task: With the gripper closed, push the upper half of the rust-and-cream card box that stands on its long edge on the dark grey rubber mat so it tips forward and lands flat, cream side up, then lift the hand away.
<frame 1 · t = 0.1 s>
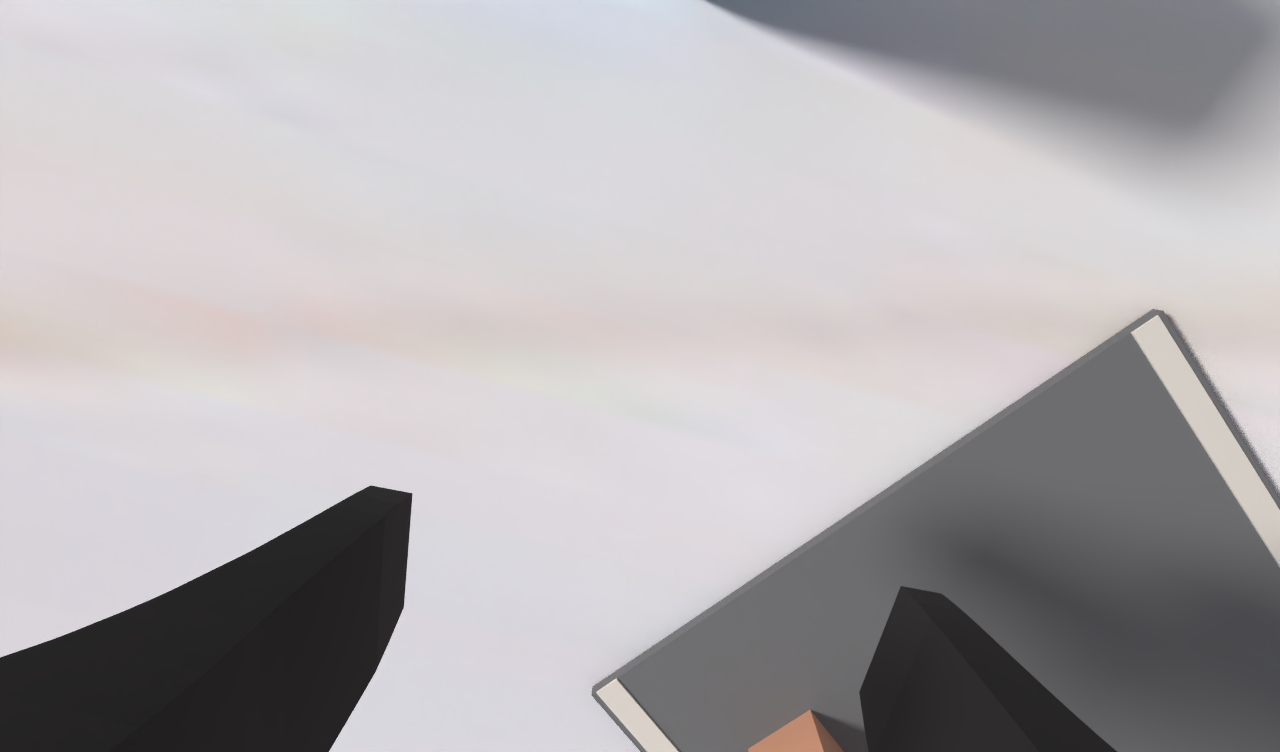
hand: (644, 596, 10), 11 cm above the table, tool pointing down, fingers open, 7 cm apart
mat: (1012, 721, 22), on the table
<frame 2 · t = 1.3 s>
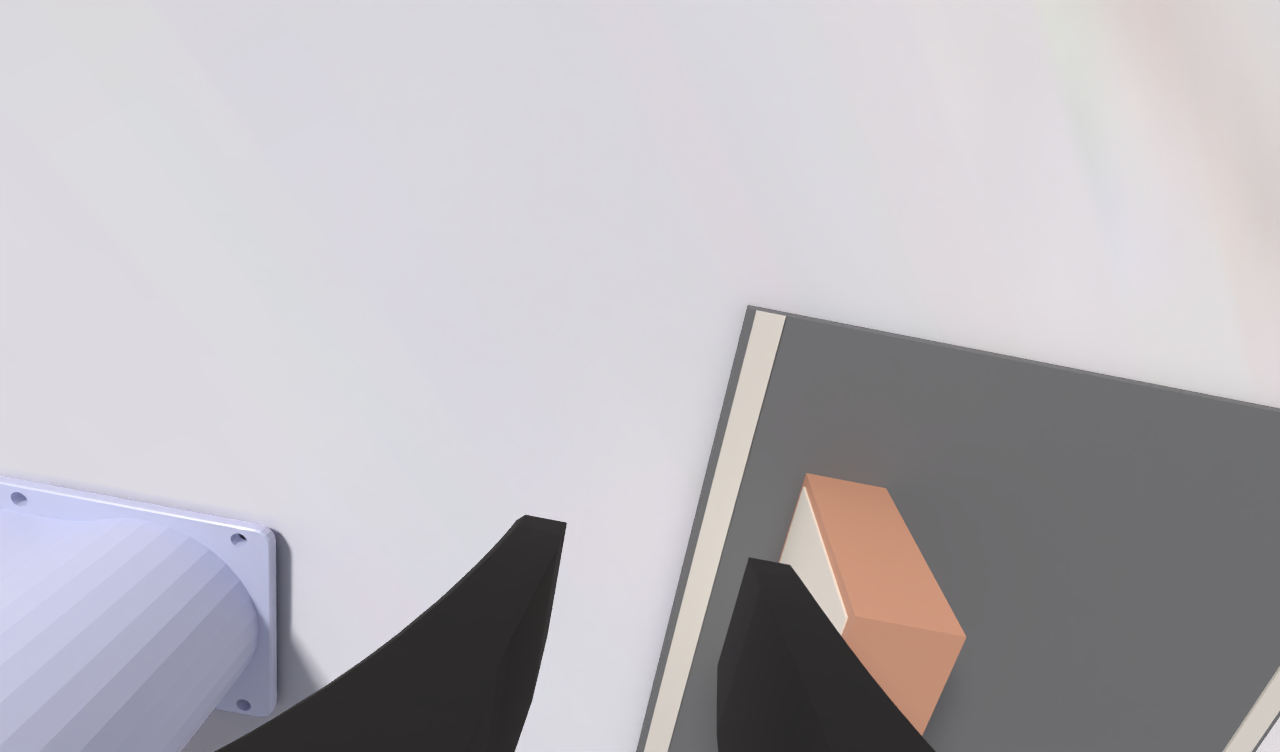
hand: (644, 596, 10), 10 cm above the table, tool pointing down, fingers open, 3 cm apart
card box: (805, 603, 22), resting on mat
mat: (984, 629, 23), on the table
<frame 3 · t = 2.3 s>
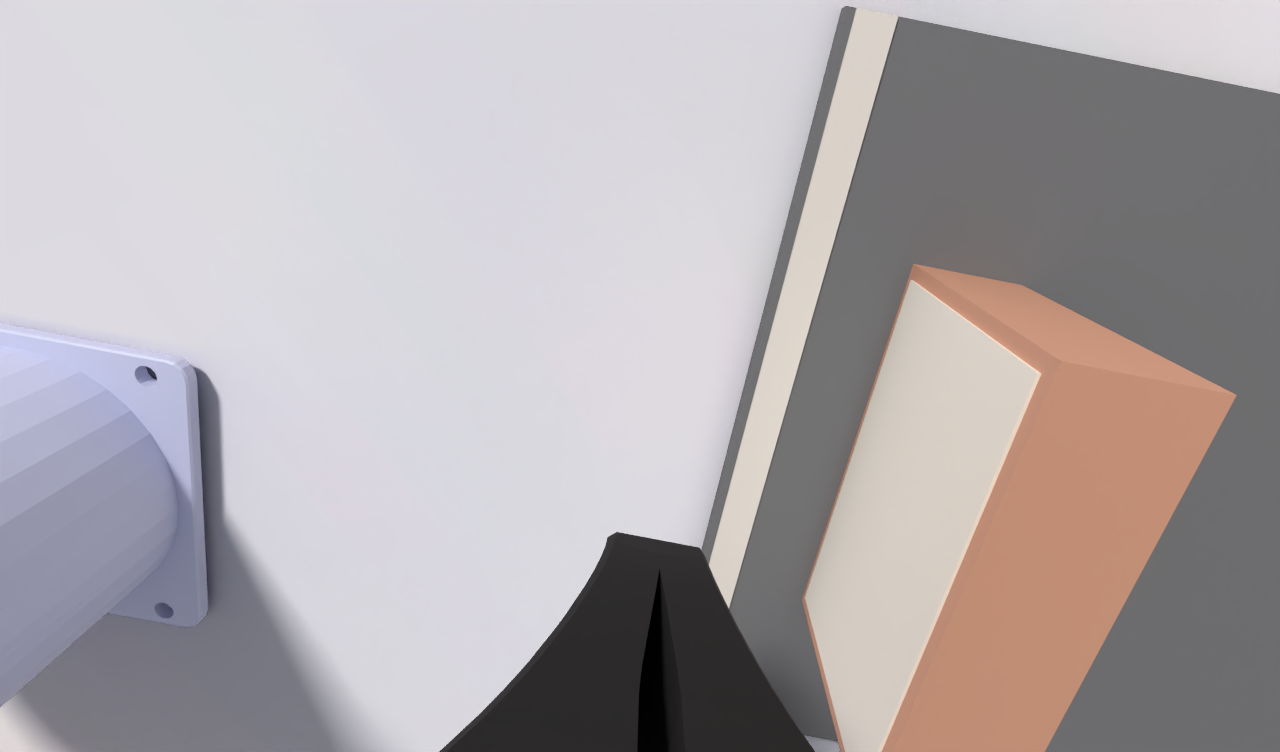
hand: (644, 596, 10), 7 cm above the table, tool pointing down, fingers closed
card box: (901, 457, 17), resting on mat
mat: (1135, 495, 17), on the table
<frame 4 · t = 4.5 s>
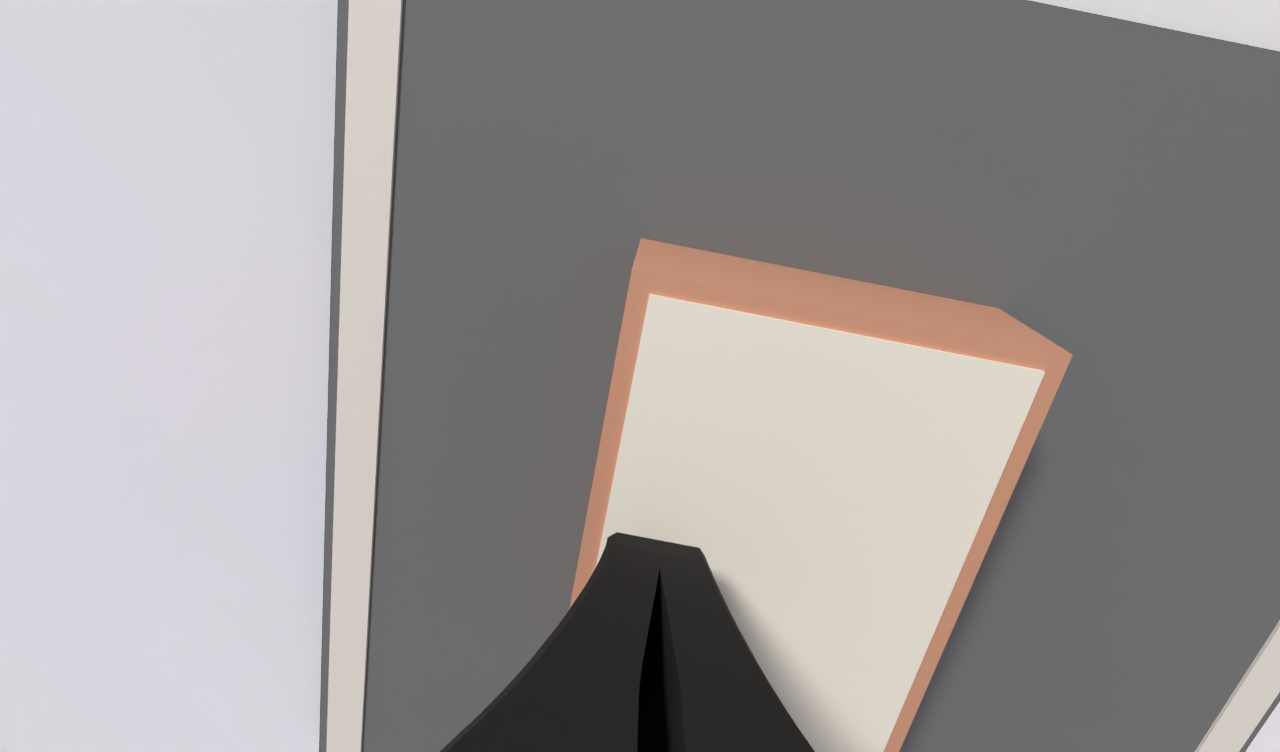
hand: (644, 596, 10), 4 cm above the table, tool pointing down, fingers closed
card box: (590, 502, 12), point 2 cm above the table, tilted 90°, touching mat
mat: (836, 504, 14), on the table
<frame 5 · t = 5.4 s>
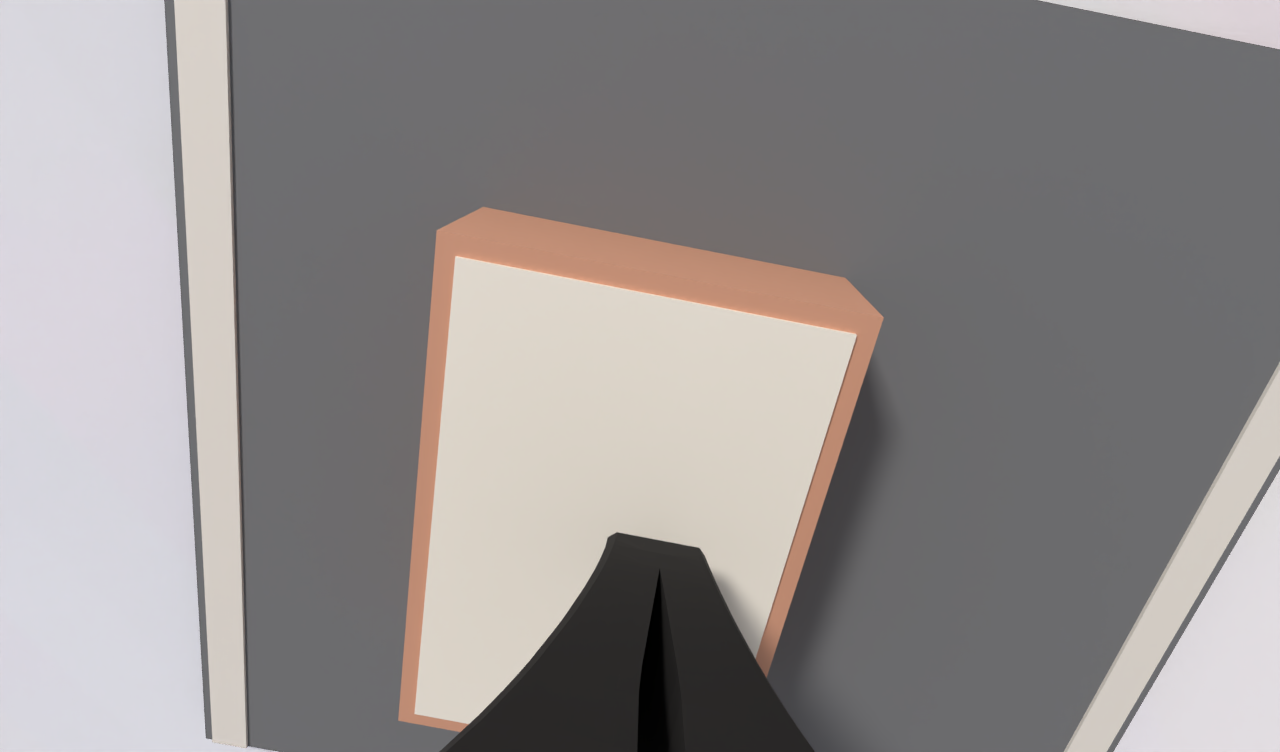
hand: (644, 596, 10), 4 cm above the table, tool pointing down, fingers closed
card box: (438, 474, 12), point 2 cm above the table, tilted 90°, touching mat
mat: (703, 479, 14), on the table
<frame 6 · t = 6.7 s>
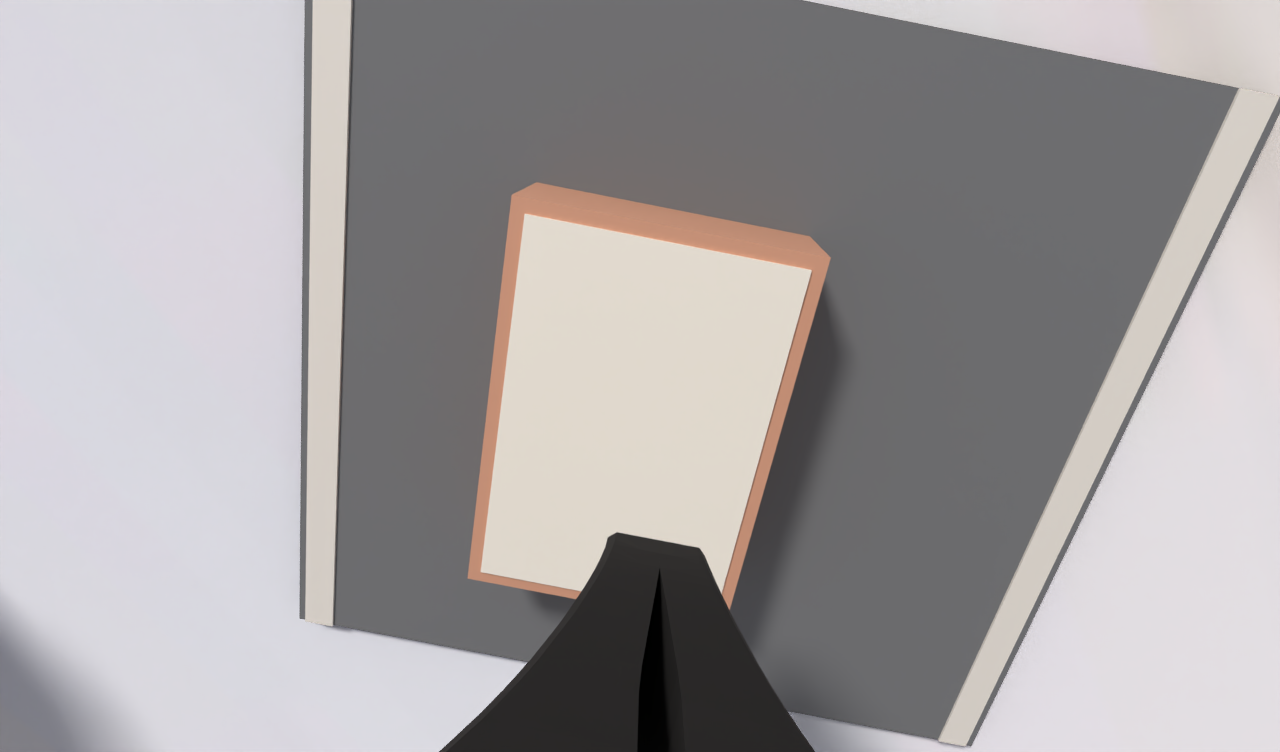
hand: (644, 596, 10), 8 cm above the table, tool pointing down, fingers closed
card box: (500, 386, 16), point 2 cm above the table, tilted 90°, touching mat
mat: (703, 399, 18), on the table
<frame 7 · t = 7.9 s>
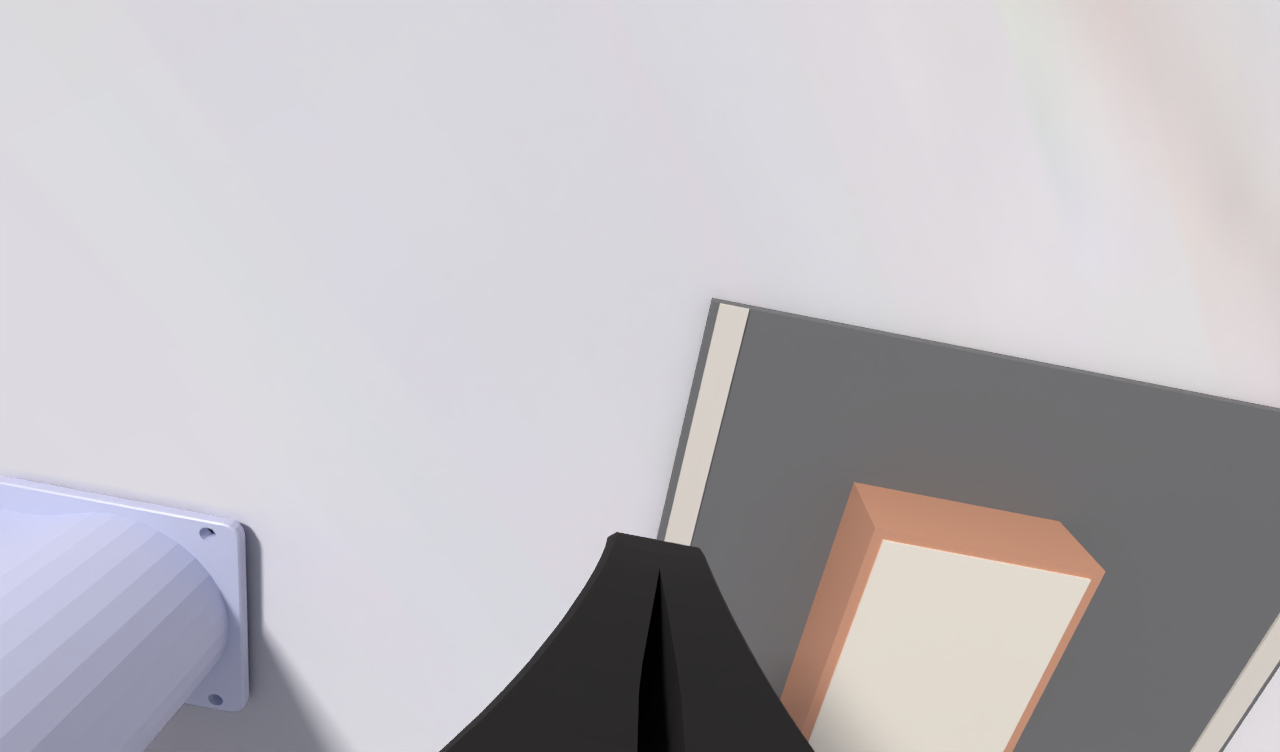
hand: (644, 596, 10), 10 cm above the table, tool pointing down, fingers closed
card box: (819, 630, 21), point 2 cm above the table, tilted 90°, touching mat
mat: (954, 623, 23), on the table
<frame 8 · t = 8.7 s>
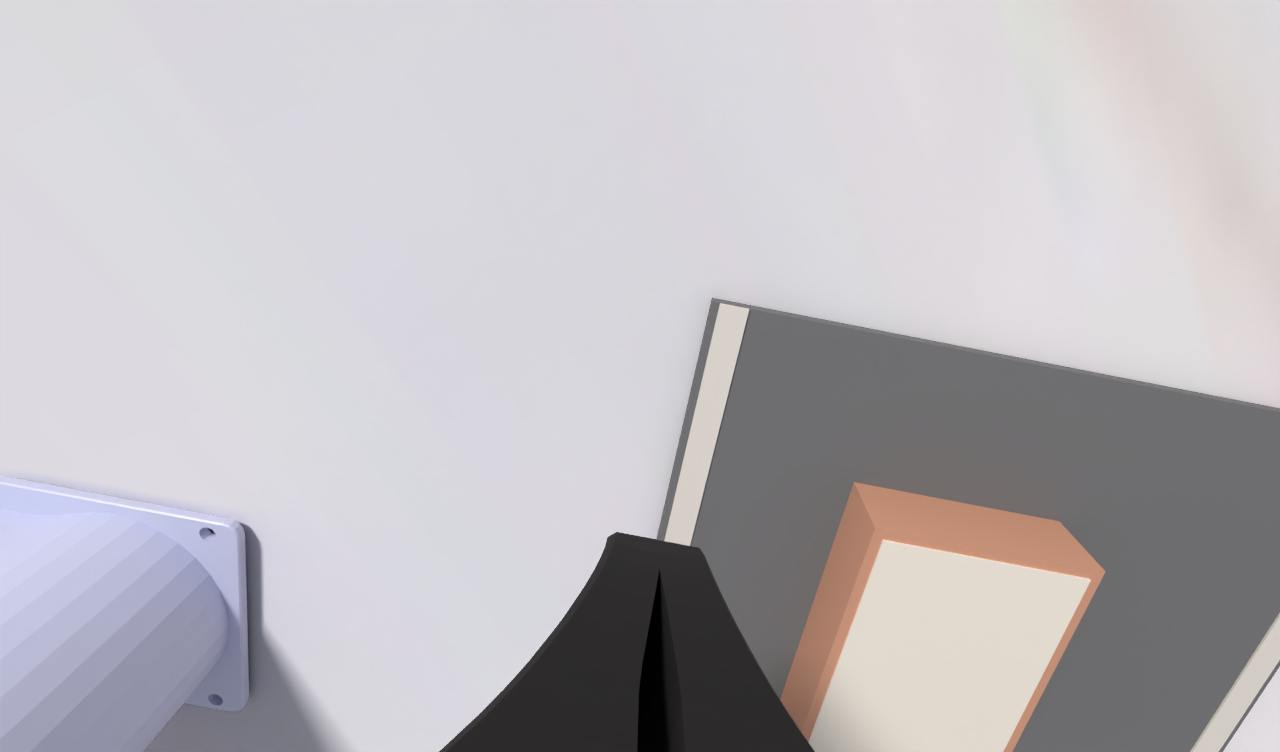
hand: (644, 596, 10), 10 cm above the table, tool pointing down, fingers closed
card box: (819, 630, 21), point 2 cm above the table, tilted 90°, touching mat
mat: (954, 623, 23), on the table
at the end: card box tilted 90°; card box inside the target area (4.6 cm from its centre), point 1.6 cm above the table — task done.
